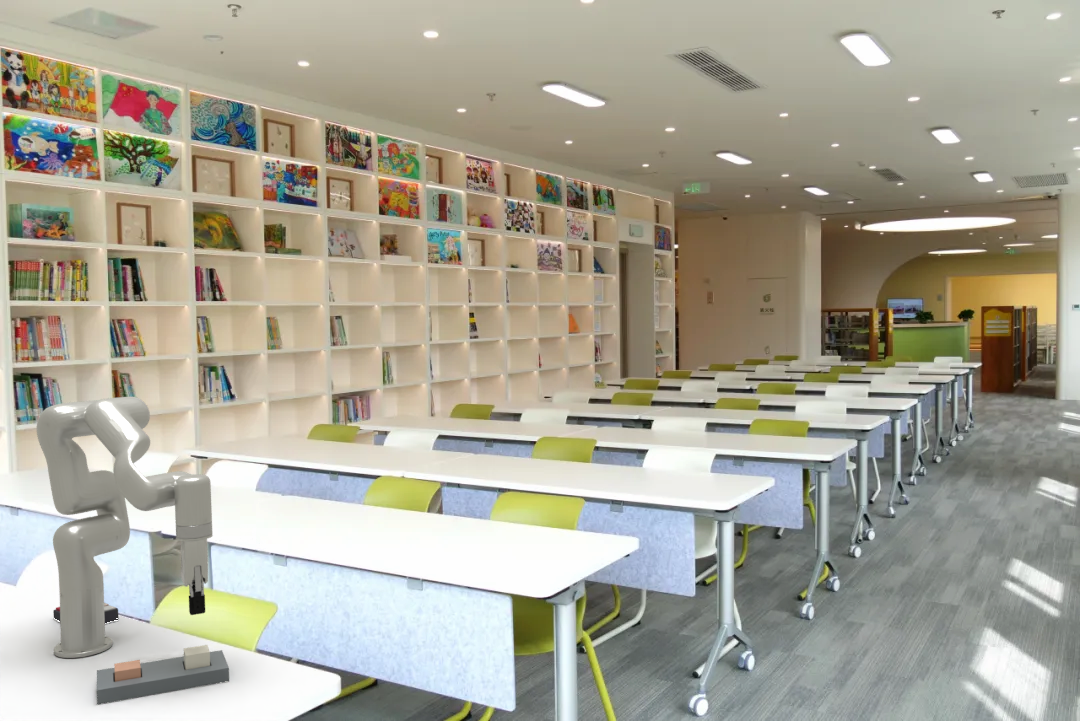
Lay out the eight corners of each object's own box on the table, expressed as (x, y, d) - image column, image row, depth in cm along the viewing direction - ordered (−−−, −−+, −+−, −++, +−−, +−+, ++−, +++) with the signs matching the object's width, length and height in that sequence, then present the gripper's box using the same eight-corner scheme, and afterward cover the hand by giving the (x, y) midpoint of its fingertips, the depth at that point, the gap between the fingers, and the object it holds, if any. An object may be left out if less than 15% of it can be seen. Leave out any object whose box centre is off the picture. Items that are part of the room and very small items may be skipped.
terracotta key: (114, 681, 192) (114, 663, 192) (140, 677, 194) (139, 659, 194) (115, 690, 188) (114, 671, 187) (141, 685, 190) (140, 667, 190)
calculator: (95, 597, 245) (118, 605, 235) (95, 612, 245) (119, 621, 235) (52, 607, 237) (75, 616, 227) (53, 623, 237) (75, 632, 227)
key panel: (97, 683, 194) (96, 670, 194) (222, 662, 205) (222, 650, 205) (96, 704, 183) (96, 690, 183) (229, 681, 195) (228, 667, 194)
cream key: (184, 666, 198) (183, 648, 198) (207, 662, 201) (207, 644, 200) (186, 673, 194) (185, 655, 194) (210, 669, 196) (209, 651, 196)
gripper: (173, 526, 201) (176, 607, 201) (178, 539, 188) (182, 625, 188) (208, 523, 204) (211, 601, 205) (216, 535, 191) (219, 619, 191)
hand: (197, 612), depth 196 cm, fingers closed
